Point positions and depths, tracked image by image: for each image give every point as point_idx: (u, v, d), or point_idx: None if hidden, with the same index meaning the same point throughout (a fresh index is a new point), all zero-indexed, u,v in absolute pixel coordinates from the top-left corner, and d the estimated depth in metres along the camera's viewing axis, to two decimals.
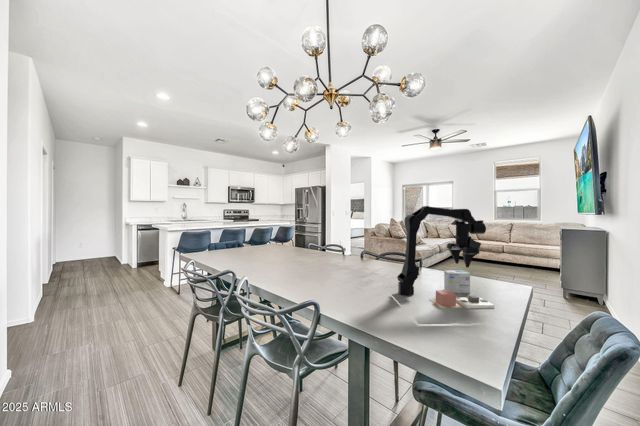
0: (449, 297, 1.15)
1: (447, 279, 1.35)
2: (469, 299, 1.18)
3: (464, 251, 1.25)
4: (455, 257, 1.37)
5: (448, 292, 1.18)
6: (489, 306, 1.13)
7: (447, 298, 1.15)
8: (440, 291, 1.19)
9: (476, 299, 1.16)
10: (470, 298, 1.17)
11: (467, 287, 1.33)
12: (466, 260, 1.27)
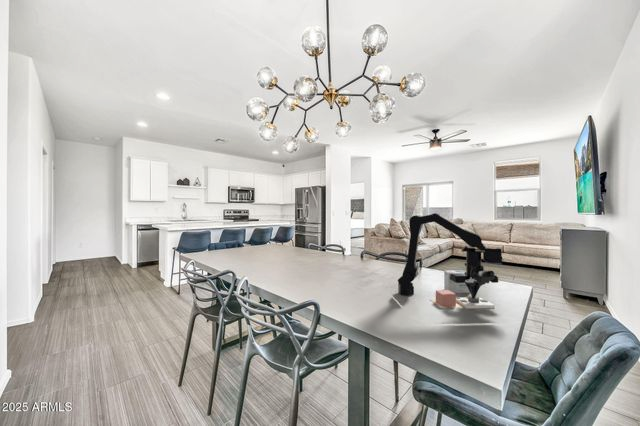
0: (449, 297, 1.15)
1: (447, 279, 1.35)
2: (469, 300, 1.18)
3: None
4: None
5: (448, 292, 1.18)
6: (489, 306, 1.13)
7: (447, 298, 1.15)
8: (440, 291, 1.19)
9: (476, 300, 1.16)
10: (470, 299, 1.17)
11: (467, 287, 1.33)
12: (468, 288, 1.19)
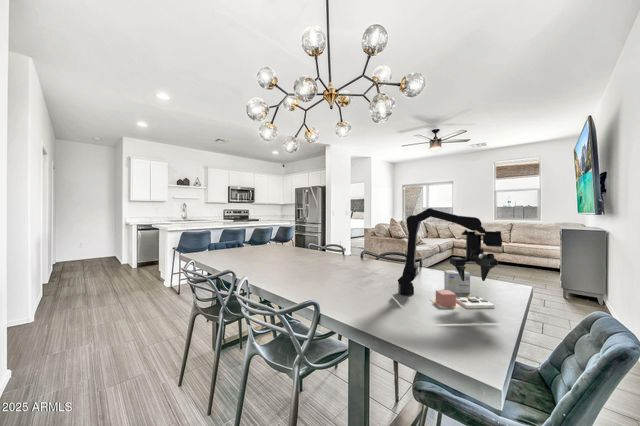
0: (449, 297, 1.15)
1: (447, 279, 1.35)
2: None
3: None
4: (482, 273, 1.19)
5: (448, 292, 1.18)
6: (489, 306, 1.13)
7: (447, 298, 1.15)
8: (440, 291, 1.19)
9: (476, 302, 1.16)
10: (470, 301, 1.17)
11: (467, 287, 1.33)
12: (458, 272, 1.19)
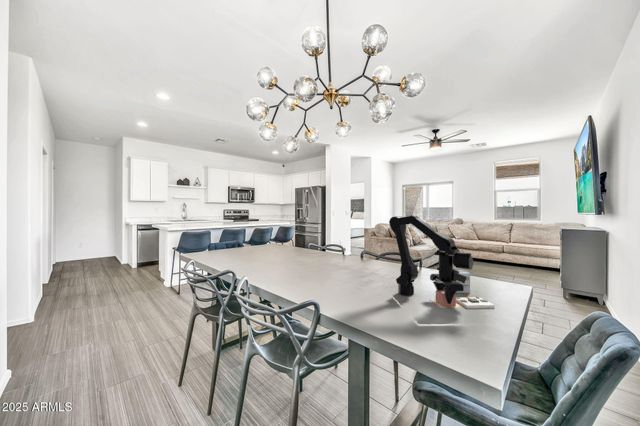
0: None
1: None
2: None
3: (447, 287, 1.11)
4: None
5: None
6: (489, 306, 1.13)
7: None
8: (440, 291, 1.19)
9: (476, 302, 1.16)
10: (470, 301, 1.17)
11: (467, 287, 1.33)
12: (447, 296, 1.14)
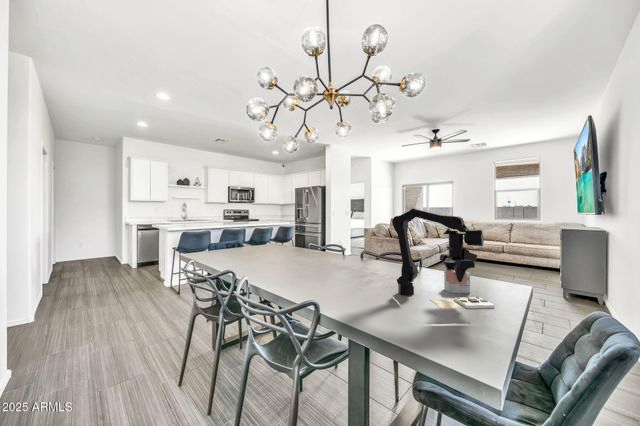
0: None
1: None
2: None
3: (458, 265, 1.10)
4: None
5: None
6: (489, 306, 1.13)
7: None
8: (450, 270, 1.19)
9: (476, 302, 1.16)
10: (470, 301, 1.17)
11: (467, 287, 1.33)
12: (458, 274, 1.13)
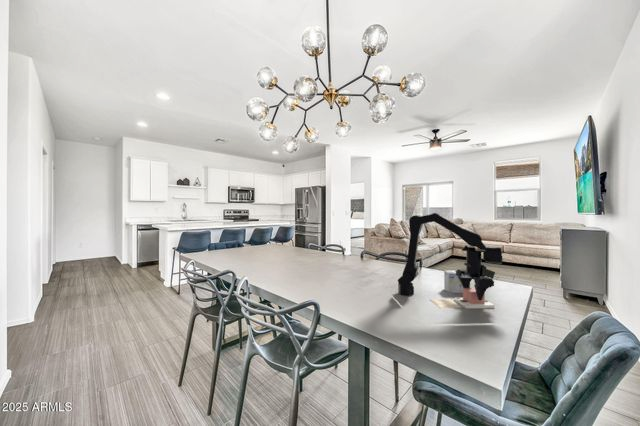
0: None
1: (447, 279, 1.35)
2: None
3: (477, 283, 1.10)
4: (465, 286, 1.22)
5: None
6: (489, 306, 1.13)
7: (476, 296, 1.15)
8: (468, 289, 1.19)
9: None
10: None
11: None
12: (479, 292, 1.12)
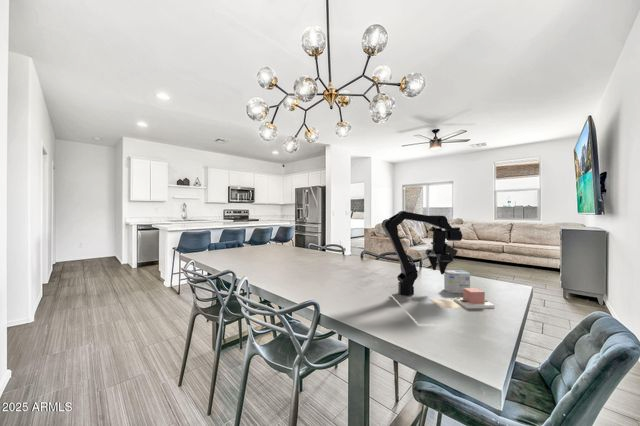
0: (478, 295, 1.15)
1: (447, 279, 1.35)
2: None
3: (438, 258, 1.25)
4: (432, 263, 1.37)
5: (476, 290, 1.17)
6: (489, 306, 1.13)
7: (476, 296, 1.15)
8: (468, 289, 1.19)
9: None
10: None
11: (467, 287, 1.33)
12: (441, 267, 1.27)
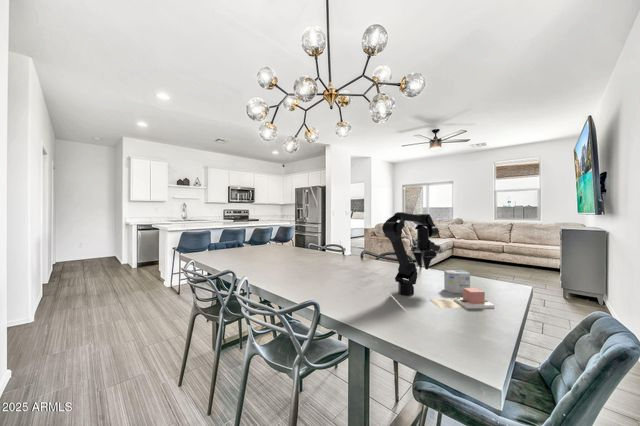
0: (478, 295, 1.15)
1: (447, 279, 1.35)
2: None
3: (422, 254, 1.33)
4: (417, 259, 1.45)
5: (476, 290, 1.17)
6: (489, 306, 1.13)
7: (476, 296, 1.15)
8: (468, 289, 1.19)
9: None
10: None
11: (467, 287, 1.33)
12: (425, 262, 1.34)
